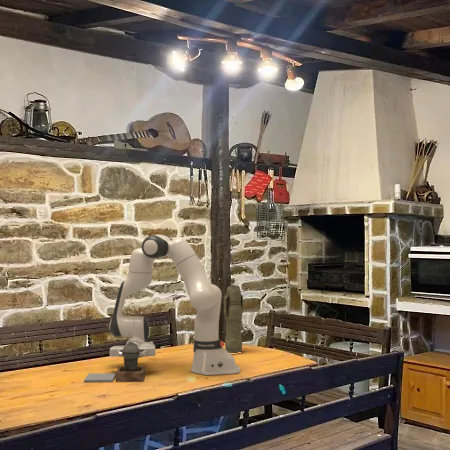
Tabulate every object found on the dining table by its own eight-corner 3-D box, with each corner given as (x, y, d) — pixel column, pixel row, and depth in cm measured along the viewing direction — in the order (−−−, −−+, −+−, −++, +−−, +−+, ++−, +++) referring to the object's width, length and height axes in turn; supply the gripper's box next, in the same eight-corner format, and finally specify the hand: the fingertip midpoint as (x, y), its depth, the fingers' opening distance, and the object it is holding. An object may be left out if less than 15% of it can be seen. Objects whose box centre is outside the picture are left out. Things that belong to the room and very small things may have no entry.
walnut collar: (145, 375, 270) (145, 366, 270) (143, 381, 258) (143, 372, 258) (118, 375, 269) (118, 366, 269) (115, 381, 257) (115, 372, 257)
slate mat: (116, 375, 269) (116, 373, 269) (112, 382, 257) (112, 379, 257) (88, 375, 268) (88, 373, 268) (83, 382, 256) (83, 380, 257)
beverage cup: (135, 381, 259) (136, 333, 259) (119, 380, 261) (119, 333, 261) (141, 376, 266) (141, 331, 266) (125, 376, 268) (126, 330, 268)
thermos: (219, 353, 318) (219, 286, 318) (235, 350, 326) (235, 284, 326) (231, 355, 312) (231, 287, 312) (247, 352, 320) (247, 285, 320)
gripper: (111, 341, 278) (107, 347, 264) (156, 341, 279) (154, 347, 265) (111, 355, 278) (107, 362, 264) (156, 355, 279) (154, 361, 265)
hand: (131, 354), depth 265 cm, fingers open, 8 cm apart
